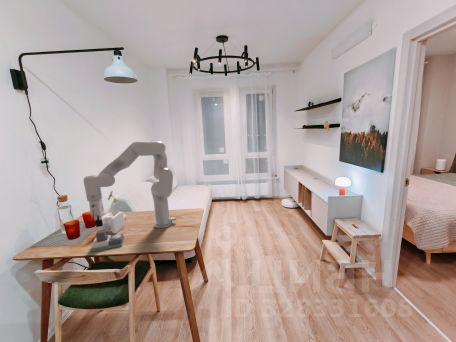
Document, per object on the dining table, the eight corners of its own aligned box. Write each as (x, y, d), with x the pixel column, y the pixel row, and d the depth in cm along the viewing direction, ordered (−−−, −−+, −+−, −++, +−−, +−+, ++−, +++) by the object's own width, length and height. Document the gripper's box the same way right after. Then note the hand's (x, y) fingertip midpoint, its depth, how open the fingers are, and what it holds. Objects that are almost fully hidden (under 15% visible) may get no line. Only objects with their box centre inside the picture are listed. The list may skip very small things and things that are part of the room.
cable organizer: (114, 235, 143) (111, 219, 141) (98, 236, 143) (95, 220, 141) (125, 225, 158) (123, 210, 155) (111, 226, 158) (108, 211, 156)
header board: (124, 237, 140) (123, 231, 139) (121, 246, 129) (120, 240, 128) (96, 242, 135) (95, 236, 135) (91, 252, 124) (90, 245, 123)
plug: (108, 241, 134) (105, 229, 132) (106, 244, 130) (104, 232, 128) (98, 242, 132) (96, 230, 131) (97, 246, 128) (94, 234, 127)
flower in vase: (114, 217, 173) (109, 187, 168) (128, 216, 174) (124, 186, 169) (106, 224, 161) (101, 192, 156) (122, 223, 162) (117, 191, 157)
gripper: (98, 199, 119) (104, 230, 123) (104, 192, 133) (109, 220, 137) (83, 201, 117) (88, 232, 121) (90, 194, 131) (95, 222, 135)
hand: (99, 226), depth 129 cm, fingers closed
